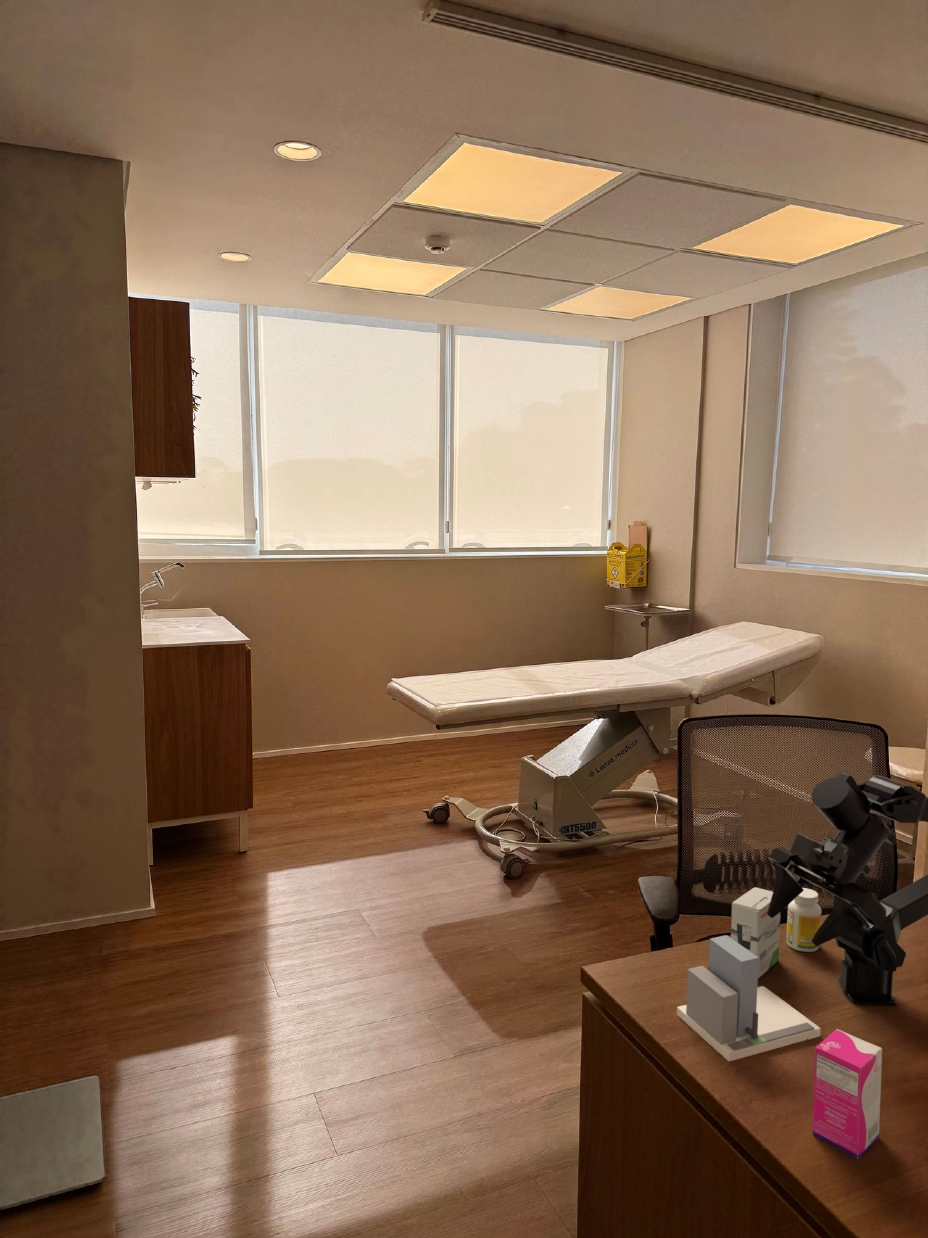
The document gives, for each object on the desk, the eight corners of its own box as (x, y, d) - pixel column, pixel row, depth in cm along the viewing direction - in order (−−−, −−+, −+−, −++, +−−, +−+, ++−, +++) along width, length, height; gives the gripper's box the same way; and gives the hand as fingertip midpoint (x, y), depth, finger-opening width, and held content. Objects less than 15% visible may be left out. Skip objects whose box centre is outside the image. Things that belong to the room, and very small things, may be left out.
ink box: (752, 950, 148) (755, 884, 146) (780, 961, 145) (783, 893, 143) (727, 969, 142) (730, 901, 140) (756, 981, 138) (759, 910, 137)
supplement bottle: (780, 944, 150) (782, 891, 149) (796, 934, 154) (799, 883, 152) (809, 956, 146) (812, 902, 145) (825, 946, 149) (828, 893, 148)
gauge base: (762, 993, 135) (765, 943, 134) (820, 1036, 124) (823, 982, 123) (676, 1014, 129) (678, 962, 128) (728, 1061, 118) (731, 1005, 117)
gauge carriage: (723, 1005, 129) (726, 935, 127) (764, 1038, 121) (768, 964, 119) (707, 1009, 128) (709, 938, 126) (747, 1043, 120) (750, 968, 118)
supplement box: (832, 1112, 108) (837, 1026, 107) (880, 1138, 104) (886, 1049, 102) (809, 1134, 104) (814, 1045, 103) (858, 1161, 100) (864, 1069, 98)
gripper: (780, 796, 136) (720, 874, 133) (876, 837, 119) (808, 927, 116) (817, 838, 140) (759, 914, 137) (914, 884, 122) (850, 972, 120)
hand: (790, 929), depth 127 cm, fingers open, 9 cm apart
